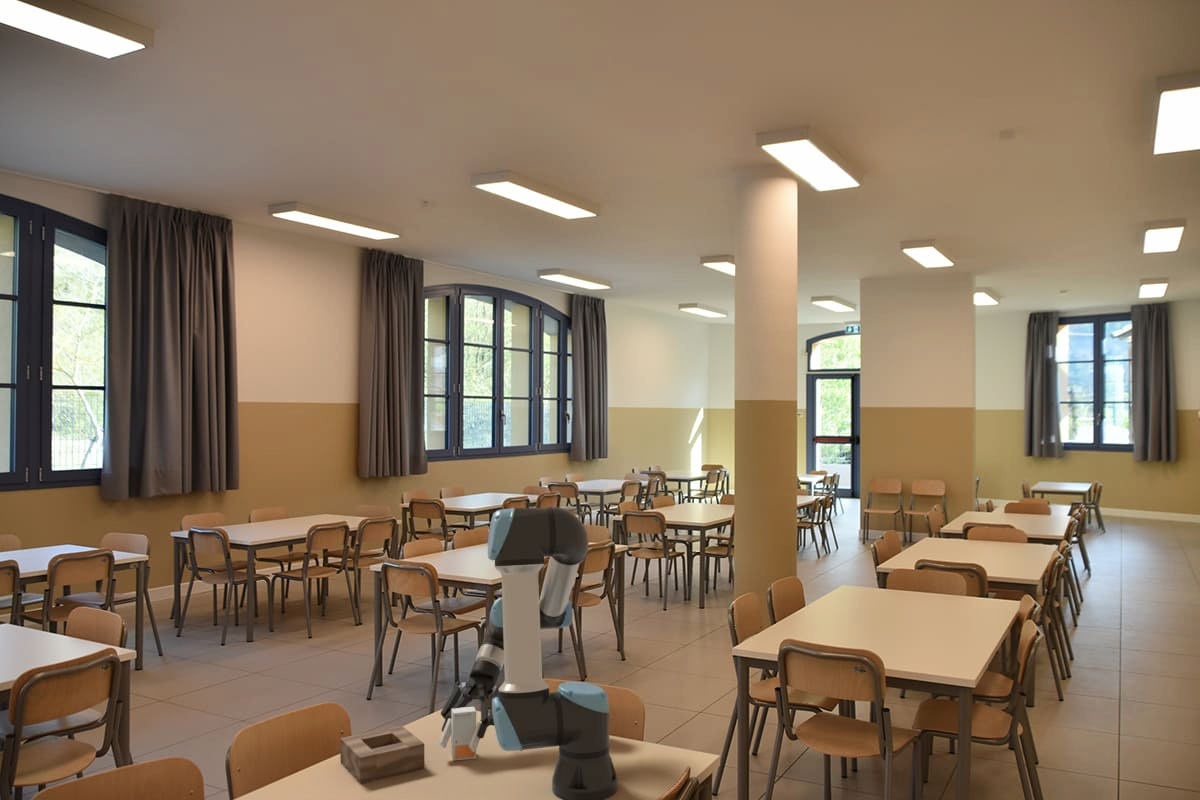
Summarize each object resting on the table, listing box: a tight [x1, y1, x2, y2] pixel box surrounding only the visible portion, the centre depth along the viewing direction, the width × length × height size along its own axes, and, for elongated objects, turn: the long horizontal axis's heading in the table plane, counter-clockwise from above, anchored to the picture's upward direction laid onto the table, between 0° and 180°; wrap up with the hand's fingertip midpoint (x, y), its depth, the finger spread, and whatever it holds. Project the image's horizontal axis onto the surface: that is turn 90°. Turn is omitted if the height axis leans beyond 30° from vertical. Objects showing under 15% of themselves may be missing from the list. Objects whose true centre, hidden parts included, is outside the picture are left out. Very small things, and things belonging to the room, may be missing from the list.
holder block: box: [339, 725, 425, 784], centre depth 212 cm, size 16×16×6 cm
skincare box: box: [450, 706, 477, 762], centre depth 217 cm, size 6×4×12 cm
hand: (456, 747), depth 214 cm, fingers open, 8 cm apart
